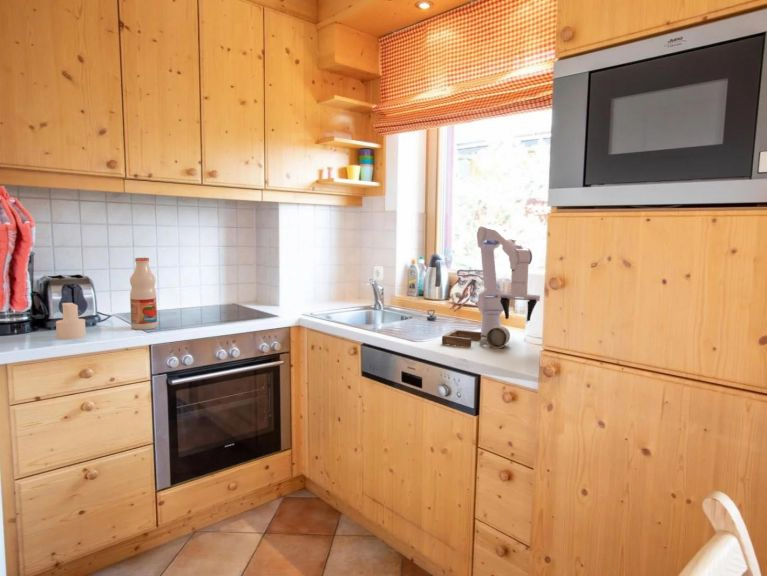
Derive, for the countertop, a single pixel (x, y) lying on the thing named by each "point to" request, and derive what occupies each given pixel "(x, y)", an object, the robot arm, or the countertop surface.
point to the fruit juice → (143, 297)
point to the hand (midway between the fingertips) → (517, 319)
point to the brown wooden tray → (460, 337)
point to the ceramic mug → (496, 337)
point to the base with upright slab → (70, 323)
